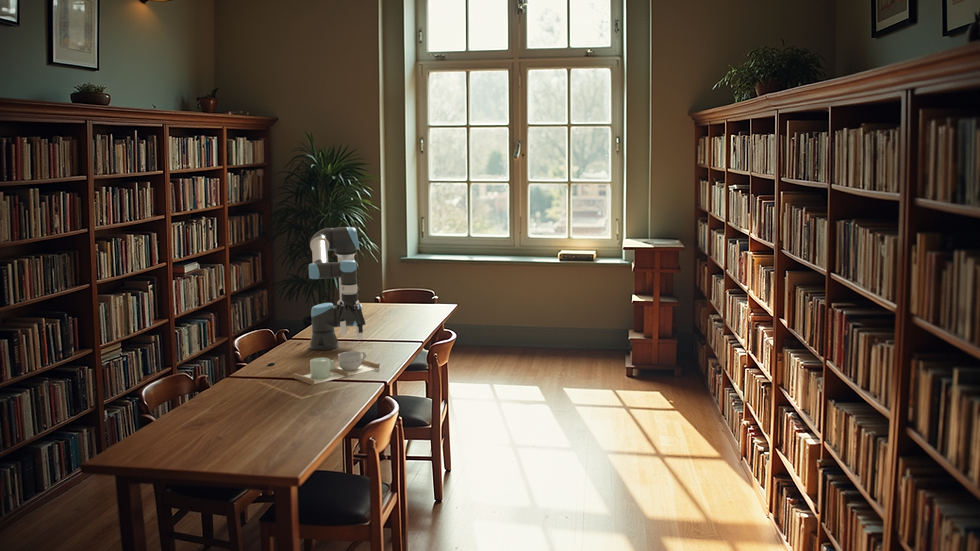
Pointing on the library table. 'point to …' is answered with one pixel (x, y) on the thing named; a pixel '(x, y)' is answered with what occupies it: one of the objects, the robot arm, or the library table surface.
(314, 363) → the pale green cup
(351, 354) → the teacup
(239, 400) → the library table surface
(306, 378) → the beige tray
